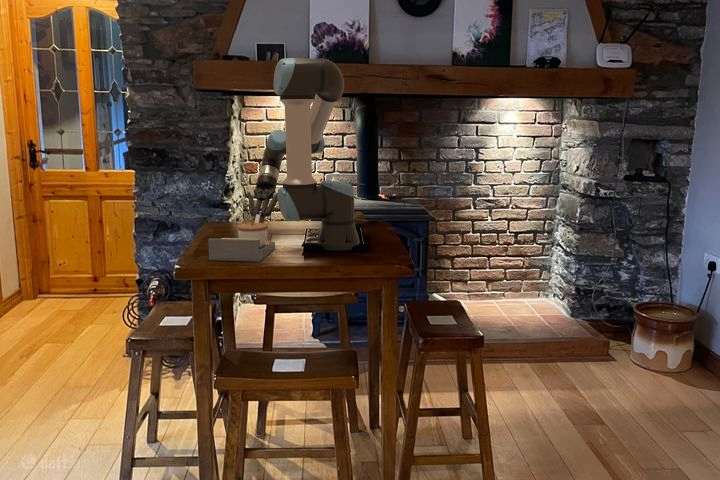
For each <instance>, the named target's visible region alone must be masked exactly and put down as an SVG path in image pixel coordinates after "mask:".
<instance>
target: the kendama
mask: <svg viewBox="0 0 720 480" xmlns="http://www.w3.org/2000/svg"><path fill="white" fill-rule="evenodd" d="M365 222H367V223H368V222H369V220H368V219H366V216H365V214H364V213H363V212H362V211H359V210H358V211H354V225H355V227H356V226H362V225H364V224H365Z"/></svg>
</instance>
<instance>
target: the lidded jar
mask: <svg viewBox="0 0 720 480" xmlns="http://www.w3.org/2000/svg"><path fill="white" fill-rule="evenodd" d="M268 228H269V225H268V223H265V222H264V223H254V221H253V220H251V221H250V222H247V223H239V224H238V225H237V228H236V229H237V234H238V238H241V239H259V240H260V248H263V245H264V244H265V243H266V242H267V240H268V234H269V231H268V230H269V229H268Z"/></svg>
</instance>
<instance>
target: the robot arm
mask: <svg viewBox="0 0 720 480" xmlns="http://www.w3.org/2000/svg"><path fill="white" fill-rule="evenodd" d="M344 90H345V79H344V75H343V73H342V71H341V69H340V68H339V67H338V66H337V64H336V63H335V62H333V61H331V60H329V59H326V58H312V57H311V58H309V57H308V58H305V57H304V58H303V57H286V58H281V59H279V61H278V62H277V63H276V66H275V69H274V73H273V91H274V93H275V95H277V96H279V101H280V102H281V103H282V104H283V105H284V126H285V128H284V130H285V131H284V130H282V129H274V130H272V131H271V132H270V134H269V136H268V138H267V141H266V146H265V149H264V150H263V154H262V160H261V164H260V169H259V172H258V175H257V176H258V177H257V180H256V185H255V188H254V189H253V192H247V193H246V195H247V197H248V204H249V205H248V207H249V208H248V209H249V214H250V216H251V217H253V218H252V221H254V223H265V218H267V217H268V218H269V217H271V216H272V213H273V211H274V209H275V207H276V205H277V203H278V208H279V210H280V213H281V215H282V217H283V219H284V220H285V221H288V222H300V221H301V222H302V221H311V220H313V221H315V220H321V226H320V230H319V233H318V236H317V240H316V243H317V242H318V243H319V244H321V245H322V246H323V247H324V248H325V249H324V251H330V252H331V251H336V252H337V251H338V252H340V251H341V252H342V251H351V250H353V249H352V247H354V246H355V245H357V244H359V243H360V238H359V234H358V231H357V229H356V226H355V225H354V212H355V188H354V186H353V185H352V184H351V183H348V182H343V181H342V182H341V181H335V180H321V181H320V185H318V183H317V180H316V179H315V178H314V177H313V166H312V165H313V164H312V163H313V159H312V157H313V156H312V155H315V154H321V153H323V152H324V149H325V138H324V136H323V134H324V132H325V129H326V127H327V125H328V123H329V120H330V118H331V115H332V112H333V110H334V107H335V105H336V102H337V103H338V101H340V99H341V98H342V96H343V93H344ZM284 156H286V157H285V158H286V159H285V161H286V178H284V180H283V181H282V187H279V188H278V189H277V186H278V180H279V175H280V170H281V167H282V162H283V160H284V159H283V158H284ZM276 189H277V192H276ZM255 197H256V202H254V201H255V200H254V199H255Z"/></svg>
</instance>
